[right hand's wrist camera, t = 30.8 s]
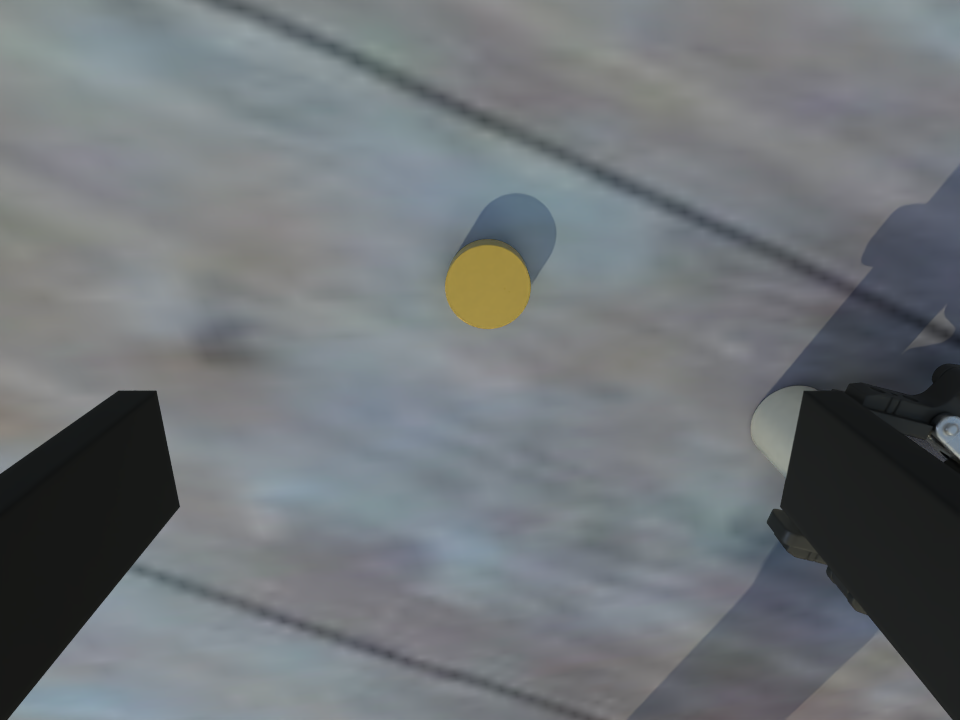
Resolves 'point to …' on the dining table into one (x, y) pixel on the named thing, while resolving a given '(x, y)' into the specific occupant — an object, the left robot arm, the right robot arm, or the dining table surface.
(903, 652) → the right robot arm
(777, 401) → the bottle
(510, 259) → the cap
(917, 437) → the left robot arm
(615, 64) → the dining table surface
